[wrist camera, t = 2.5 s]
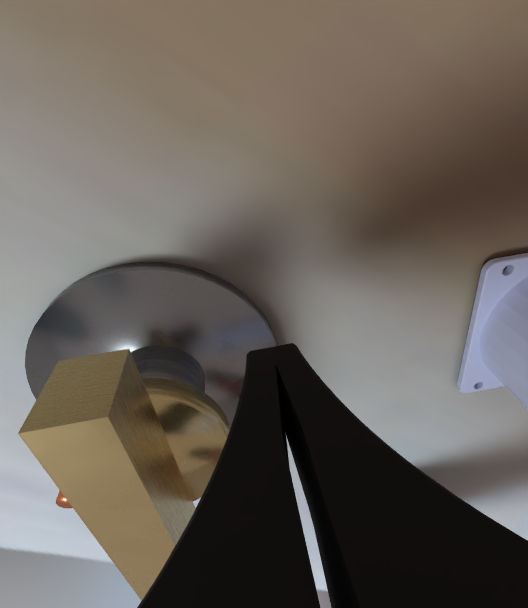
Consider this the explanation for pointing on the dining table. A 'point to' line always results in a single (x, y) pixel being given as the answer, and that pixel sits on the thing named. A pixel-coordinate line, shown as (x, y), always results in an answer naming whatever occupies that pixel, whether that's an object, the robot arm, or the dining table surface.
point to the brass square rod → (126, 455)
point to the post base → (154, 329)
